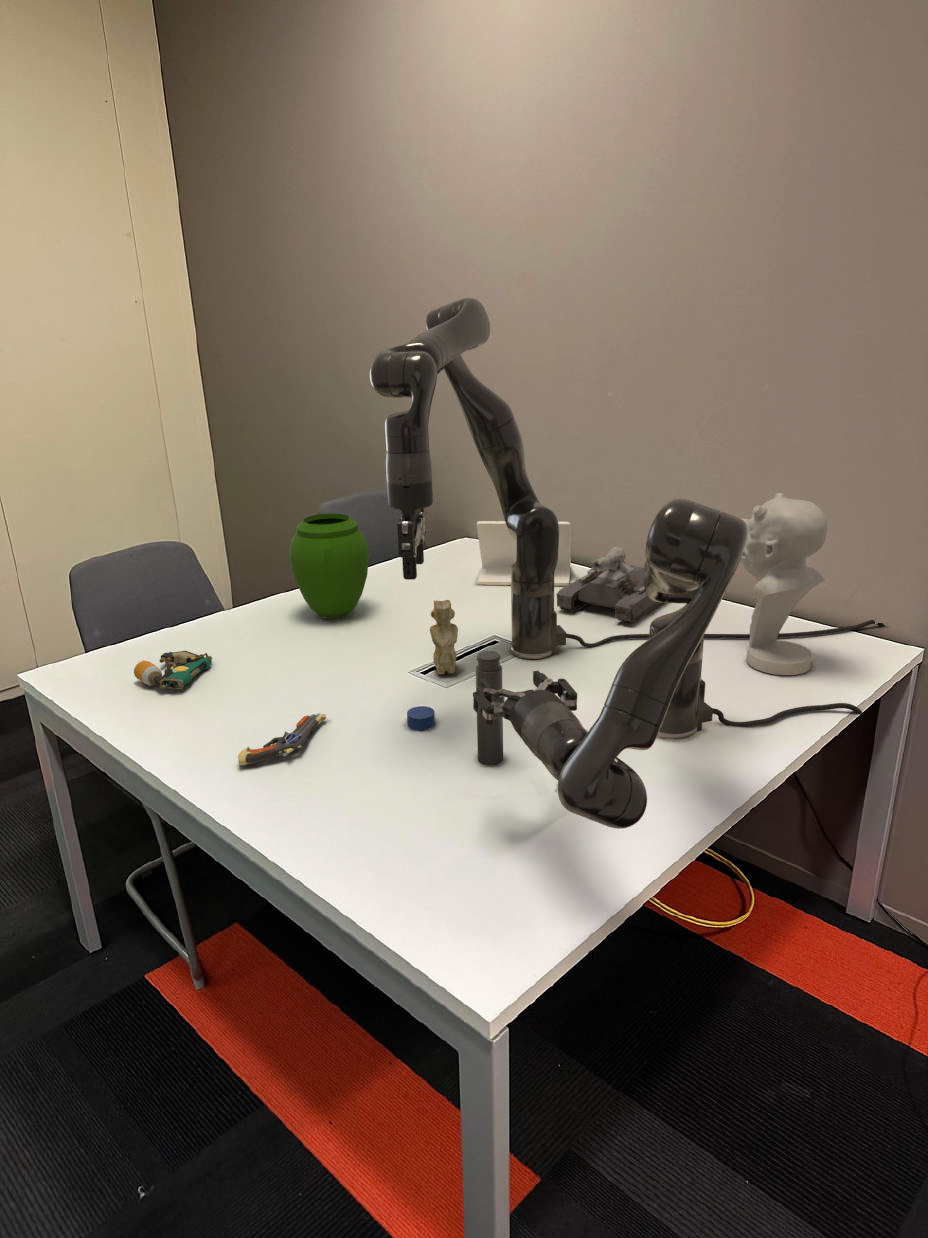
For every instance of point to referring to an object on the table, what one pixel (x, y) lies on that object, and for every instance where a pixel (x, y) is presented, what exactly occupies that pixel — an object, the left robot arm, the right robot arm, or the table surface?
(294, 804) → the table surface
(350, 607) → the vase
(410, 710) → the lid
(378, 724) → the table surface
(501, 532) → the tablet stand
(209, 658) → the spray gun
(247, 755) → the toy gun
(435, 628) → the sculpture
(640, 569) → the toy
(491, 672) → the dark grey capped cylinder
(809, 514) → the bust sculpture
